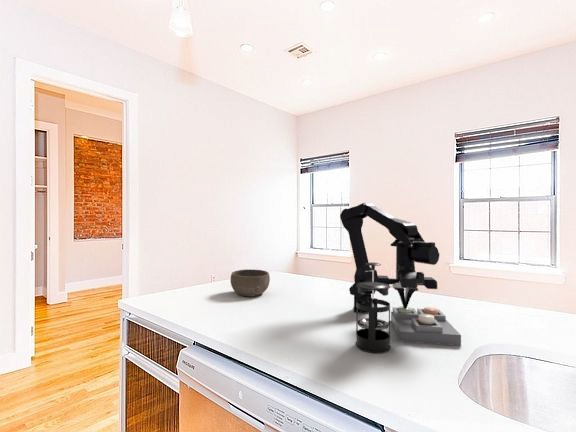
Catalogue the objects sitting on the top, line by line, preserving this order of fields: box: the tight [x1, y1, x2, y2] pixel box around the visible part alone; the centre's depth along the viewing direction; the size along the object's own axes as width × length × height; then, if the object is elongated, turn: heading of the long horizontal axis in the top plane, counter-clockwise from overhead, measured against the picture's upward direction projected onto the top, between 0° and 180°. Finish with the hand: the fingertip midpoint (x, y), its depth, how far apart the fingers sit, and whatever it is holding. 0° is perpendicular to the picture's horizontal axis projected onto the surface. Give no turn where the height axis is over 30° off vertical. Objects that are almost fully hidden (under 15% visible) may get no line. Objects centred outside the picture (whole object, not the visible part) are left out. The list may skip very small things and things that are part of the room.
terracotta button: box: [423, 306, 439, 315], centre depth 106 cm, size 4×4×2 cm
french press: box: [355, 262, 392, 354], centre depth 90 cm, size 12×9×23 cm
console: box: [390, 307, 462, 347], centre depth 101 cm, size 16×19×4 cm
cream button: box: [419, 314, 434, 324], centre depth 96 cm, size 4×4×2 cm
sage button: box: [397, 305, 412, 313], centre depth 107 cm, size 4×4×2 cm
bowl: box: [230, 268, 271, 297], centre depth 148 cm, size 17×18×10 cm
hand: (404, 308), depth 107 cm, fingers closed, pressing on sage button
